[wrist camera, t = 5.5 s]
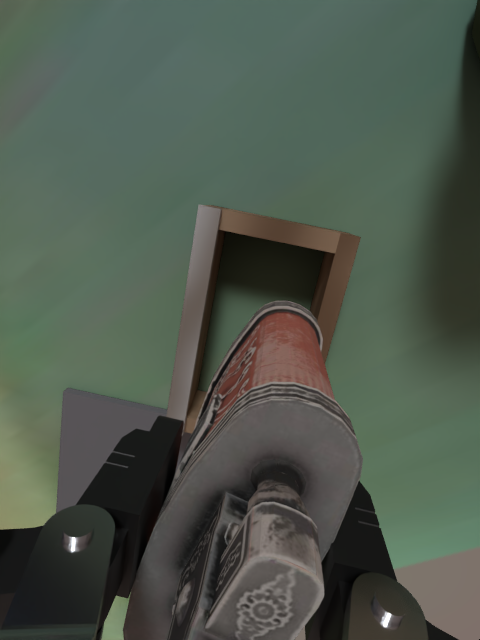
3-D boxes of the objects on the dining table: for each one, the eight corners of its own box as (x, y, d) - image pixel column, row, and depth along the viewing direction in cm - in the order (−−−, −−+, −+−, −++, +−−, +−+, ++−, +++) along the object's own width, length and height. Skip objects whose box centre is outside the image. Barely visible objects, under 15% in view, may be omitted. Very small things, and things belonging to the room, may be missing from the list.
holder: (347, 232, 22) (363, 238, 18) (295, 424, 26) (298, 462, 22) (211, 205, 22) (198, 204, 18) (180, 399, 26) (163, 432, 22)
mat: (206, 418, 26) (205, 423, 26) (183, 539, 29) (181, 546, 29) (67, 387, 26) (63, 391, 26) (60, 511, 30) (55, 517, 29)
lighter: (257, 284, 14) (206, 460, 4) (341, 324, 14) (479, 584, 4) (176, 452, 16) (26, 809, 7) (248, 485, 16) (204, 882, 7)
